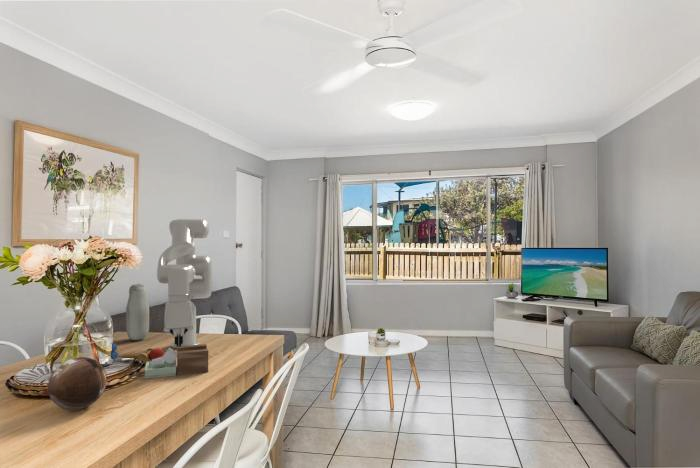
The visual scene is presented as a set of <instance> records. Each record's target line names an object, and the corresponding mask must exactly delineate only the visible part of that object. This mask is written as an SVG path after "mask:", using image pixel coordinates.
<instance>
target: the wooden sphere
mask: <svg viewBox="0 0 700 468" xmlns="http://www.w3.org/2000/svg"><path fill="white" fill-rule="evenodd" d="M107 382H108V381H107V373H106V370H105V368H104V366H103V365H101V364H100V363H99V361H98V360H94V359H93V358H90V357H84V356H81V357H79V356H78V357H74V358H70V359H68V360H65V361H64V362H63V363H61V364H59V365H58V367H56V368H55V370H53V371H52V373H51V375H50V377H49V380H48V383H47V392H48V396H49V398H50V399H51V401H52V402H53V404H55V405H56V406H58V407H59V408H61V409H64V410H67V411H76V410H81V409H84V408H87V407H88V406H91V405H92V404H94V403H95V402H96V401H98V399H100V397H101V396H102V395H103V393H104V390H105V389H106V385H107Z"/></svg>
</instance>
